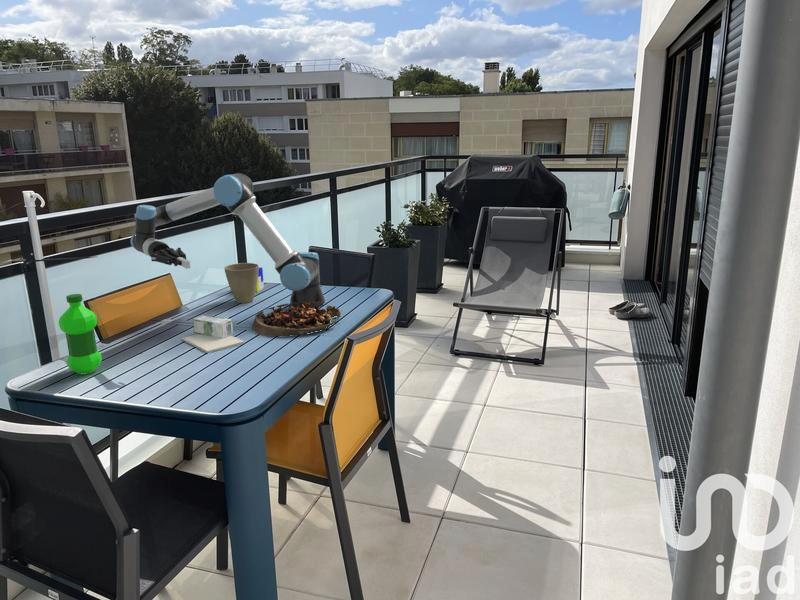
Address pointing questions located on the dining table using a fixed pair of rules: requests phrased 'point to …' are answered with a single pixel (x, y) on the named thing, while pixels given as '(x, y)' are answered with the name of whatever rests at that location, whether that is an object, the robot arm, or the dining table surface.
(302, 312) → the food dish
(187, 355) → the dining table surface
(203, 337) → the mat
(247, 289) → the plant pot
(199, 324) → the syrup box
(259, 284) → the puzzle toy
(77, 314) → the plastic bottle
